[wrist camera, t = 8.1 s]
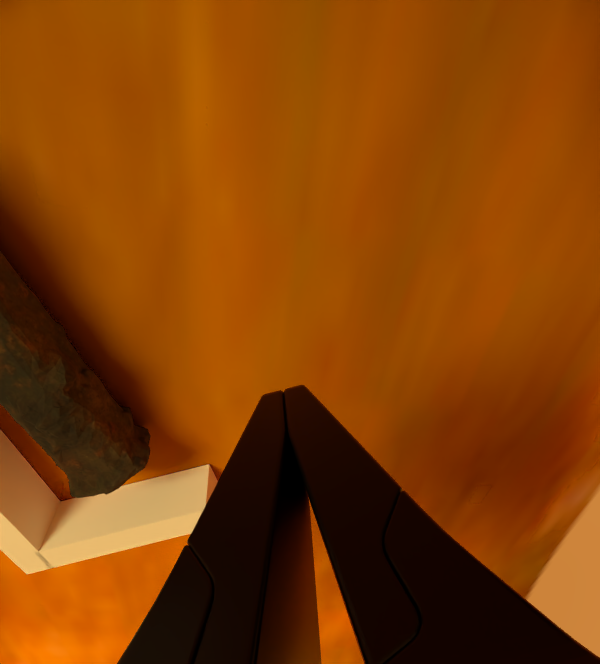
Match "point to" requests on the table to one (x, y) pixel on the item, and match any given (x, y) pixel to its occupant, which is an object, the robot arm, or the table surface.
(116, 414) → the hand tool
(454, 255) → the table surface
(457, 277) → the table surface
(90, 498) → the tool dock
